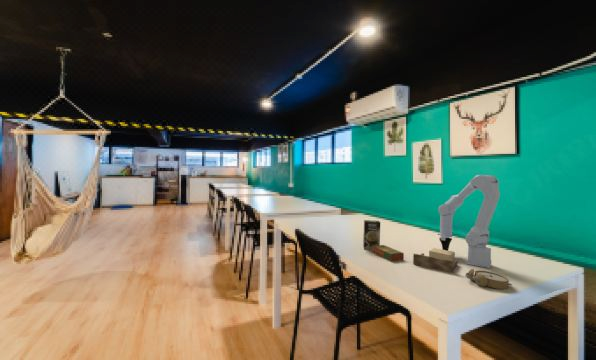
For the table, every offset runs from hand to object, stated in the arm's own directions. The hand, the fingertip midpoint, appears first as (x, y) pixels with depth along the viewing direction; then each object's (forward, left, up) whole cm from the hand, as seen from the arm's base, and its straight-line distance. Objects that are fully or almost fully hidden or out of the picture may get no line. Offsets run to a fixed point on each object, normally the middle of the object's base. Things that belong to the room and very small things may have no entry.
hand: (445, 251), depth 146 cm
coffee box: (+36, +16, -2) cm, 39 cm away
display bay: (0, +22, -2) cm, 22 cm away
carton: (+23, +25, -2) cm, 34 cm away
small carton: (0, +9, -2) cm, 9 cm away
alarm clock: (-21, +33, -2) cm, 39 cm away
